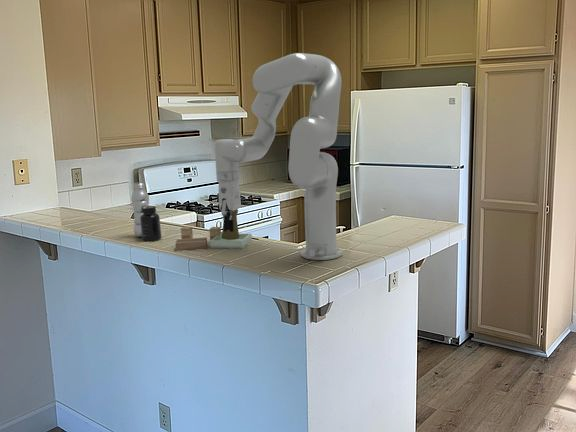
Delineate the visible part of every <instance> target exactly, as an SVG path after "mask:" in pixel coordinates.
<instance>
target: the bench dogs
mask: <svg viewBox="0 0 576 432" xmlns="http://www.w3.org/2000/svg"><path fill="white" fill-rule="evenodd" d="M221 228H222V227H221V226H212V227H210V228H209V241H210V240H212V239H213V238H215V237H216V236H219V235H220V234H221V233H222V231H221V230H222V229H221ZM180 237H181V238H180V239H190V238H194V233H193V226H182V227H181V228H180Z"/></svg>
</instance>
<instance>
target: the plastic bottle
mask: <svg viewBox="0 0 576 432" xmlns="http://www.w3.org/2000/svg"><path fill="white" fill-rule="evenodd" d="M133 189H134V191H133V193H132V194H131V197H130V198H131V199H130V201H131V204H132V209H133V216H134V223H133V232H134V235H135V236H136V237H139V238H142V232H141V222H140V217H141V215H143V213H142V207H146V206H150V205H149V204H150V196H149V194H148V192H147V190H145V183H144V182H134V183H133Z"/></svg>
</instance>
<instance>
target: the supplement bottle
mask: <svg viewBox="0 0 576 432" xmlns="http://www.w3.org/2000/svg"><path fill="white" fill-rule="evenodd" d="M142 213H143V215H141V217H140V222H141V232H142V237H141V238H142V241H143V240H144V241H143V242H147V241H149V242H155V241H154V240H157V241H159V239H160V240H161V239H162V229H161V220H160V219H161V218H160V214H158V213H157V209H156V206H155V205H149V206H146V207H142Z"/></svg>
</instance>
